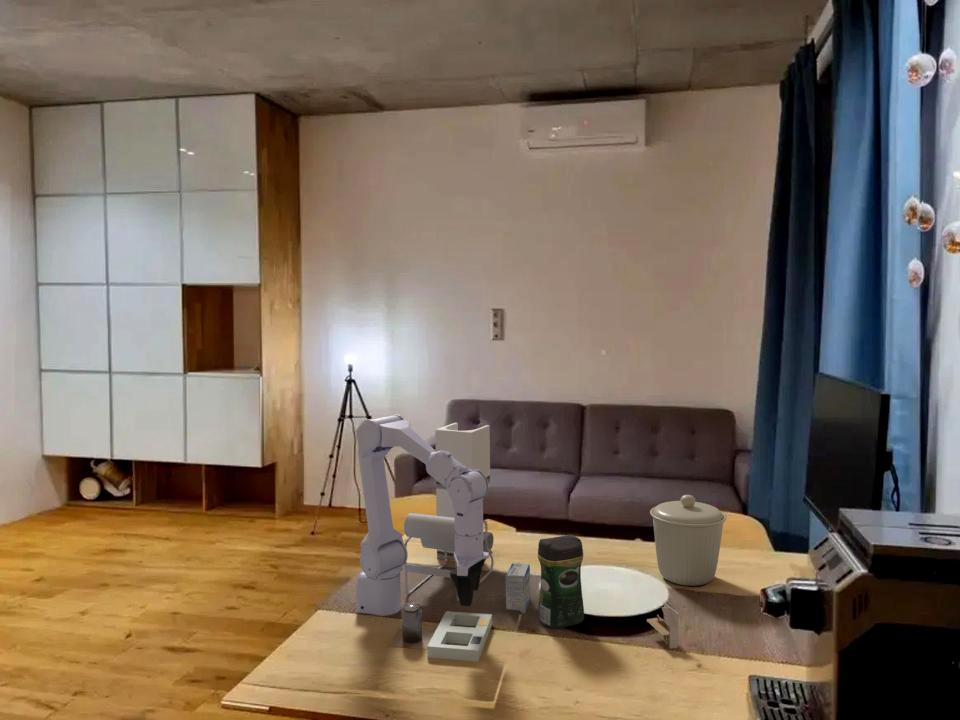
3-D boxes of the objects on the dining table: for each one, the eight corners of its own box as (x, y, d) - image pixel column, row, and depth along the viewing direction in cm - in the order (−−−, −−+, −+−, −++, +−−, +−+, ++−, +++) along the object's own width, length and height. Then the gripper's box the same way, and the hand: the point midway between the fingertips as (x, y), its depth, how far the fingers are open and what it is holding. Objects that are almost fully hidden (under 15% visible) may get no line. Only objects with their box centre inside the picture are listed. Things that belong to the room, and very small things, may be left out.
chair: (403, 598, 172) (402, 516, 170) (447, 562, 195) (446, 489, 193) (456, 607, 167) (455, 522, 165) (495, 568, 190) (494, 494, 188)
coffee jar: (570, 609, 165) (571, 528, 163) (589, 624, 157) (589, 539, 156) (532, 617, 161) (532, 534, 159) (549, 632, 154) (549, 546, 152)
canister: (696, 561, 194) (697, 483, 192) (740, 587, 177) (742, 501, 175) (635, 570, 188) (636, 489, 186) (675, 597, 171) (677, 508, 169)
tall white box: (472, 563, 193) (471, 432, 190) (437, 558, 198) (435, 429, 195) (490, 550, 204) (489, 425, 201) (456, 544, 208) (455, 422, 205)
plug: (399, 642, 148) (399, 608, 148) (405, 633, 152) (404, 600, 151) (419, 643, 147) (418, 610, 147) (424, 634, 151) (423, 602, 151)
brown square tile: (387, 650, 147) (387, 646, 147) (399, 632, 154) (399, 628, 154) (426, 653, 145) (426, 649, 145) (436, 634, 153) (436, 631, 153)
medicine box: (525, 614, 163) (525, 576, 162) (505, 612, 164) (505, 575, 163) (530, 599, 170) (530, 563, 170) (511, 598, 171) (511, 562, 170)
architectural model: (663, 652, 146) (663, 615, 145) (646, 636, 153) (646, 601, 152) (678, 649, 147) (679, 613, 146) (661, 634, 154) (661, 600, 153)
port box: (427, 661, 142) (427, 646, 142) (446, 624, 158) (446, 610, 157) (478, 665, 140) (478, 650, 140) (492, 628, 156) (492, 614, 156)
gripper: (482, 545, 140) (482, 613, 141) (494, 521, 154) (494, 584, 155) (446, 543, 141) (446, 611, 142) (461, 520, 155) (461, 582, 156)
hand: (469, 597), depth 149 cm, fingers open, 7 cm apart
